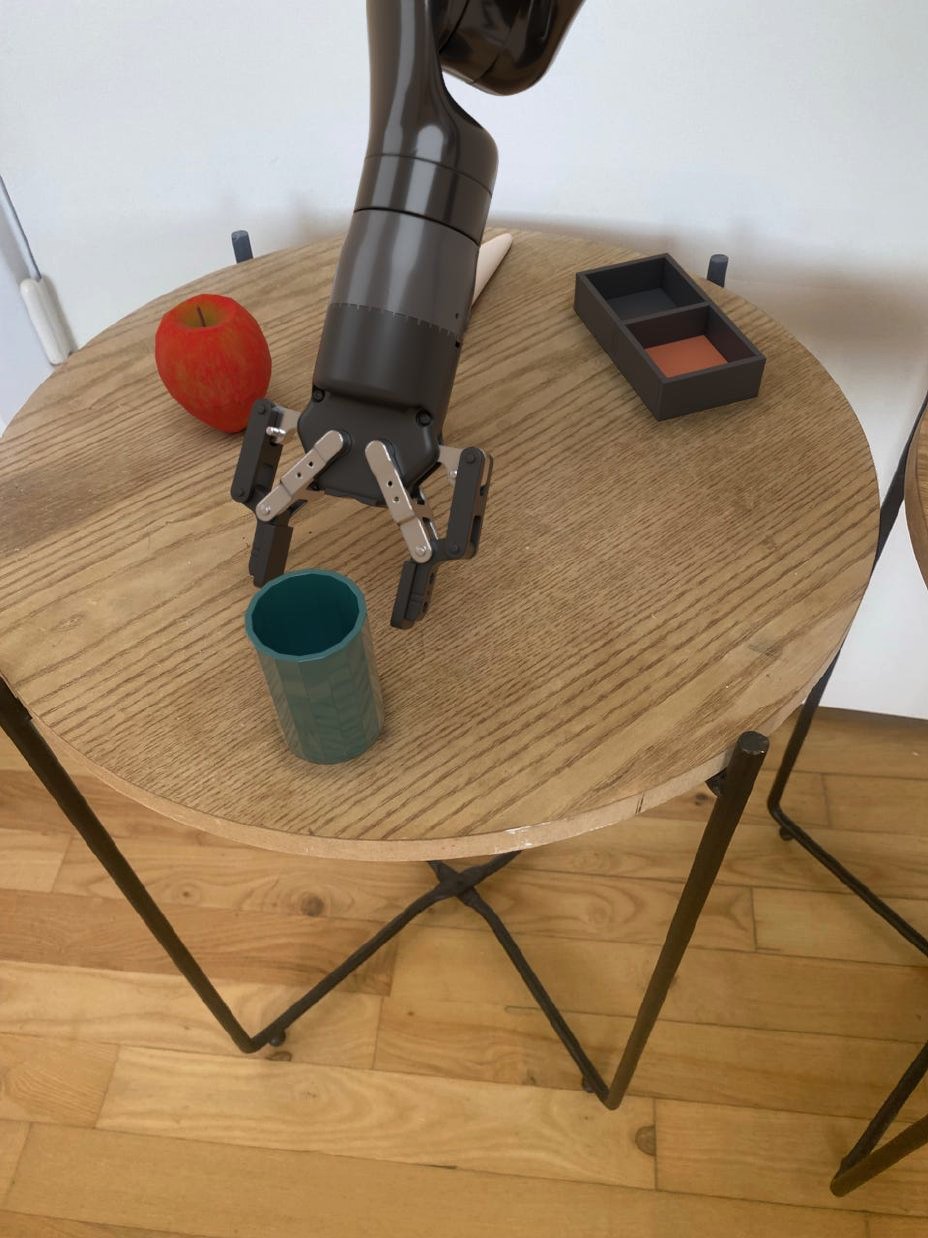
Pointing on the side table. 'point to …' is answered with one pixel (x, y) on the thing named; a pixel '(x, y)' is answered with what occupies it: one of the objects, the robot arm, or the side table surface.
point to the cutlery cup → (317, 663)
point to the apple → (213, 360)
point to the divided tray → (667, 336)
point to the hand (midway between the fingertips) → (332, 607)
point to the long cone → (490, 260)
